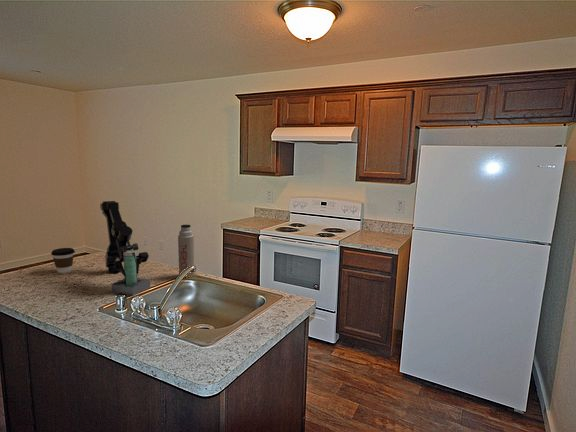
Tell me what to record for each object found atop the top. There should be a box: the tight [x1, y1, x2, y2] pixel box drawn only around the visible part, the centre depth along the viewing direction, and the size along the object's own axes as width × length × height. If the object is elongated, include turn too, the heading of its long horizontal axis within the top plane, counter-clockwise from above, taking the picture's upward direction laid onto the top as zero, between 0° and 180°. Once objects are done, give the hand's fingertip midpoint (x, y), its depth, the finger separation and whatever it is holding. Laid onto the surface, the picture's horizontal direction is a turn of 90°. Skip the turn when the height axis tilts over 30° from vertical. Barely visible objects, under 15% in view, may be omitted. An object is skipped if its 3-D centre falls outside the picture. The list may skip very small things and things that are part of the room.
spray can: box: [123, 247, 138, 285], centre depth 173 cm, size 6×6×20 cm
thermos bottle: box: [177, 224, 195, 277], centre depth 194 cm, size 8×8×28 cm
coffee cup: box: [50, 247, 76, 274], centre depth 198 cm, size 11×11×12 cm
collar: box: [111, 277, 151, 297], centre depth 175 cm, size 12×12×4 cm
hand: (131, 274), depth 173 cm, fingers closed on spray can, 5 cm apart
